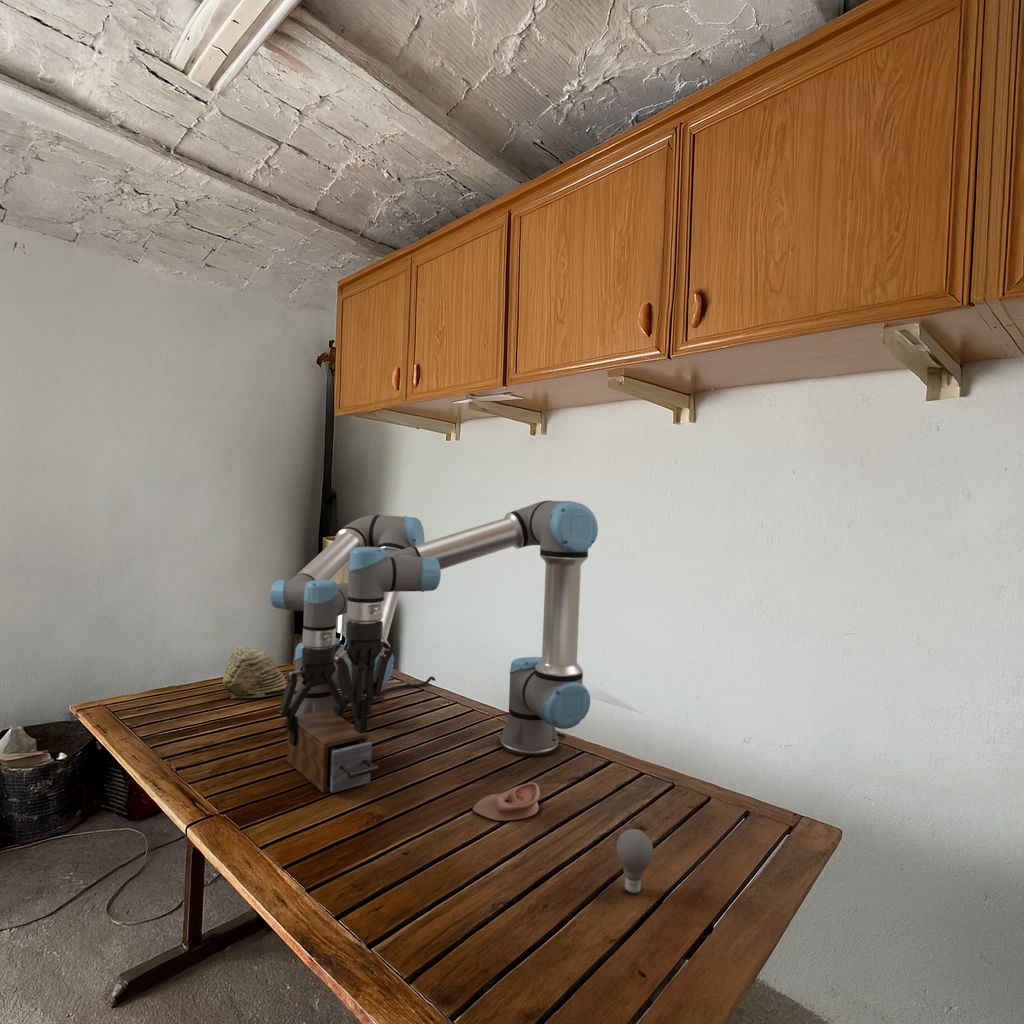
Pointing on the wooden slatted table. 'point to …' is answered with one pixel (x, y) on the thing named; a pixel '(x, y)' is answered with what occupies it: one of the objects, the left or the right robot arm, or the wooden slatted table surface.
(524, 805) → the anatomical model
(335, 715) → the cabinet
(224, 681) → the fossil
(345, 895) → the wooden slatted table surface
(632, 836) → the light bulb
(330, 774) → the drawer
